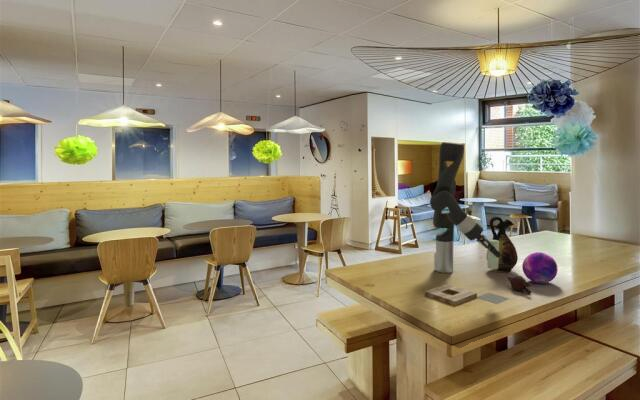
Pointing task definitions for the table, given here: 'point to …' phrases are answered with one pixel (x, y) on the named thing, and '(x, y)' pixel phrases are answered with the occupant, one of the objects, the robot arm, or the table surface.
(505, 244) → the ceramic jug
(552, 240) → the table surface
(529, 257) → the decorative orb
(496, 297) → the mat
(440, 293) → the pocket block
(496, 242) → the ball
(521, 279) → the icecream
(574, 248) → the table surface
